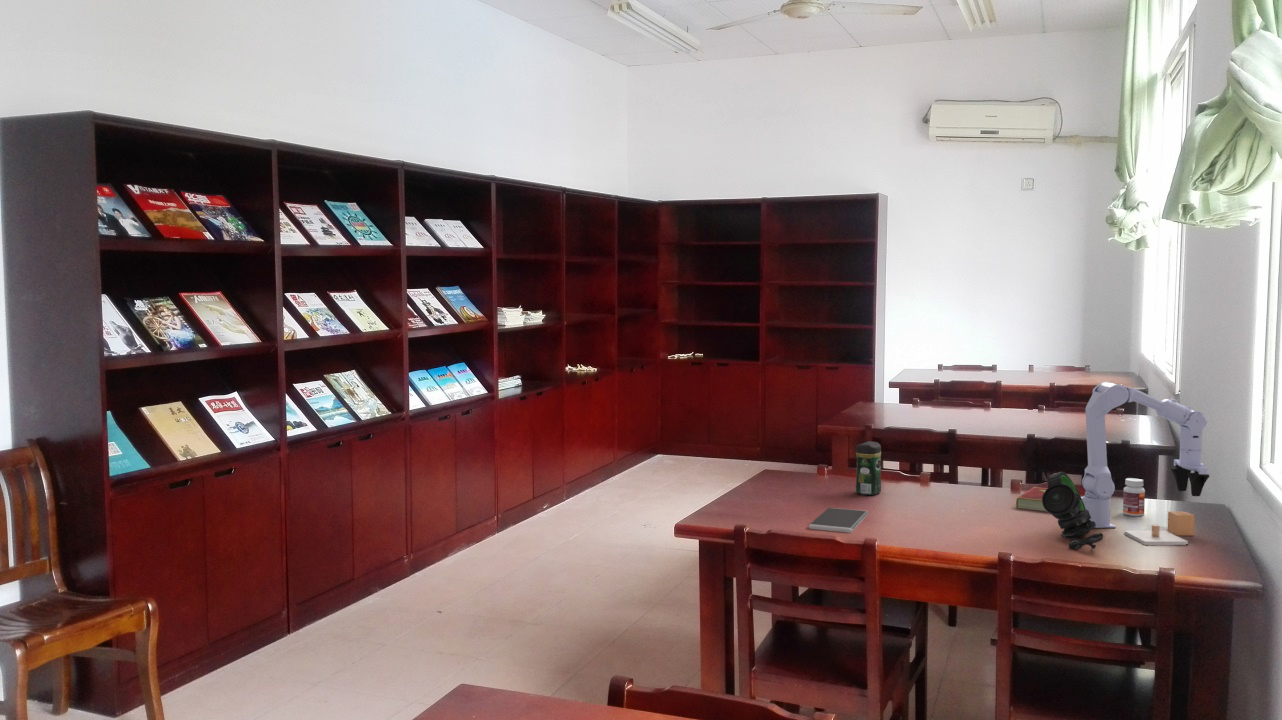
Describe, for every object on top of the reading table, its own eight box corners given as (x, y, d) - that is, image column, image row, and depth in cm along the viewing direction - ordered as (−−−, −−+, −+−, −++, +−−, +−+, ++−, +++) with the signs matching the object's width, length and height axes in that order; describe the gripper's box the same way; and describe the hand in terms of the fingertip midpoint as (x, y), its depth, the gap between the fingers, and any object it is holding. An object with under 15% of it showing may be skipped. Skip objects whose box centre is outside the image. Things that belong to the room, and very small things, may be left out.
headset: (1069, 574, 270) (1066, 508, 293) (1118, 561, 262) (1110, 494, 285) (1038, 530, 265) (1037, 466, 288) (1087, 515, 258) (1082, 451, 280)
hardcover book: (1016, 509, 316) (1016, 496, 316) (1032, 497, 333) (1032, 486, 332) (1054, 513, 309) (1054, 501, 308) (1069, 502, 326) (1069, 490, 325)
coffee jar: (863, 489, 346) (863, 439, 345) (883, 492, 341) (884, 441, 340) (852, 494, 338) (852, 442, 337) (873, 497, 334) (874, 444, 332)
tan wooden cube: (1176, 535, 279) (1177, 515, 278) (1167, 531, 284) (1168, 511, 283) (1193, 535, 279) (1194, 515, 278) (1184, 531, 284) (1185, 511, 283)
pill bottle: (1143, 517, 301) (1144, 482, 300) (1121, 515, 304) (1122, 480, 304) (1145, 513, 306) (1146, 479, 305) (1124, 511, 310) (1125, 477, 309)
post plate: (1144, 544, 269) (1145, 531, 268) (1124, 534, 281) (1124, 520, 280) (1187, 544, 268) (1188, 531, 268) (1165, 534, 280) (1165, 520, 280)
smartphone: (868, 515, 309) (868, 510, 309) (851, 534, 284) (851, 528, 284) (828, 512, 314) (828, 507, 314) (807, 530, 290) (808, 524, 290)
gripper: (1217, 453, 281) (1216, 498, 282) (1190, 445, 295) (1188, 488, 296) (1193, 453, 281) (1192, 498, 282) (1167, 445, 296) (1166, 488, 297)
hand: (1188, 493), depth 289 cm, fingers open, 7 cm apart
